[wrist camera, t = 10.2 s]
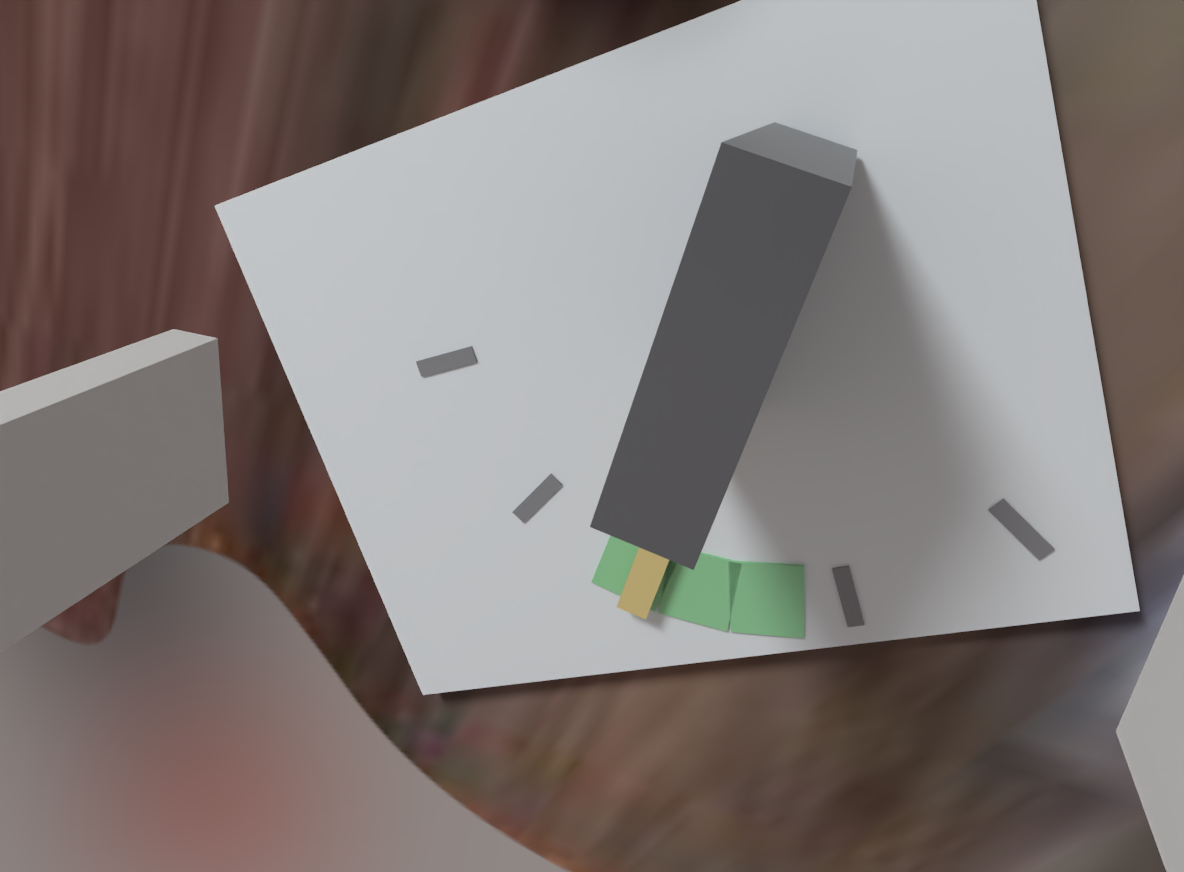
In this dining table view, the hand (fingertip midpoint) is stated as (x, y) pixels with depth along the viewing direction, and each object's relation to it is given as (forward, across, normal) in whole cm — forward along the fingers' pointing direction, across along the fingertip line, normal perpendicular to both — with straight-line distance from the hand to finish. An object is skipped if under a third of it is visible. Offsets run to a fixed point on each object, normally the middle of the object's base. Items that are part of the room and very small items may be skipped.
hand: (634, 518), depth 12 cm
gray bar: (+18, -1, -5) cm, 19 cm away
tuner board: (+20, -4, -5) cm, 21 cm away
